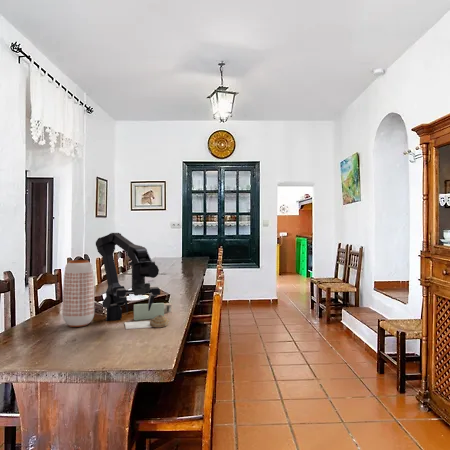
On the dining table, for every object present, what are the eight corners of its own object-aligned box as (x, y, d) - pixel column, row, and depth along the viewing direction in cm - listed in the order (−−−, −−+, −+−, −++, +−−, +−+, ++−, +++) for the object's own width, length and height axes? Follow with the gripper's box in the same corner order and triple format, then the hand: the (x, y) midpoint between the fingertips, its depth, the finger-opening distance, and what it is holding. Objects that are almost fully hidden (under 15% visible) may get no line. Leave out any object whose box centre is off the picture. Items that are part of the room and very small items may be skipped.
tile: (125, 329, 164) (125, 328, 164) (124, 323, 174) (124, 322, 174) (152, 327, 167) (152, 326, 167) (149, 321, 177) (149, 320, 177)
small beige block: (164, 313, 194) (164, 305, 194) (160, 311, 198) (161, 303, 198) (172, 312, 196) (172, 304, 196) (168, 310, 200) (168, 303, 200)
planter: (83, 329, 164) (84, 262, 164) (55, 327, 166) (56, 261, 166) (100, 321, 177) (100, 259, 177) (73, 320, 179) (74, 259, 179)
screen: (134, 320, 178) (134, 305, 178) (133, 318, 182) (133, 303, 182) (164, 318, 182) (164, 303, 183) (163, 316, 186) (163, 302, 186)
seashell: (173, 318, 174) (166, 315, 167) (170, 331, 172) (163, 328, 165) (156, 315, 176) (149, 312, 169) (153, 328, 174) (146, 325, 167)
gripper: (117, 279, 160) (116, 317, 160) (162, 277, 166) (162, 313, 166) (116, 275, 171) (116, 311, 171) (158, 274, 176) (158, 308, 176)
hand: (138, 311), depth 170 cm, fingers open, 9 cm apart
